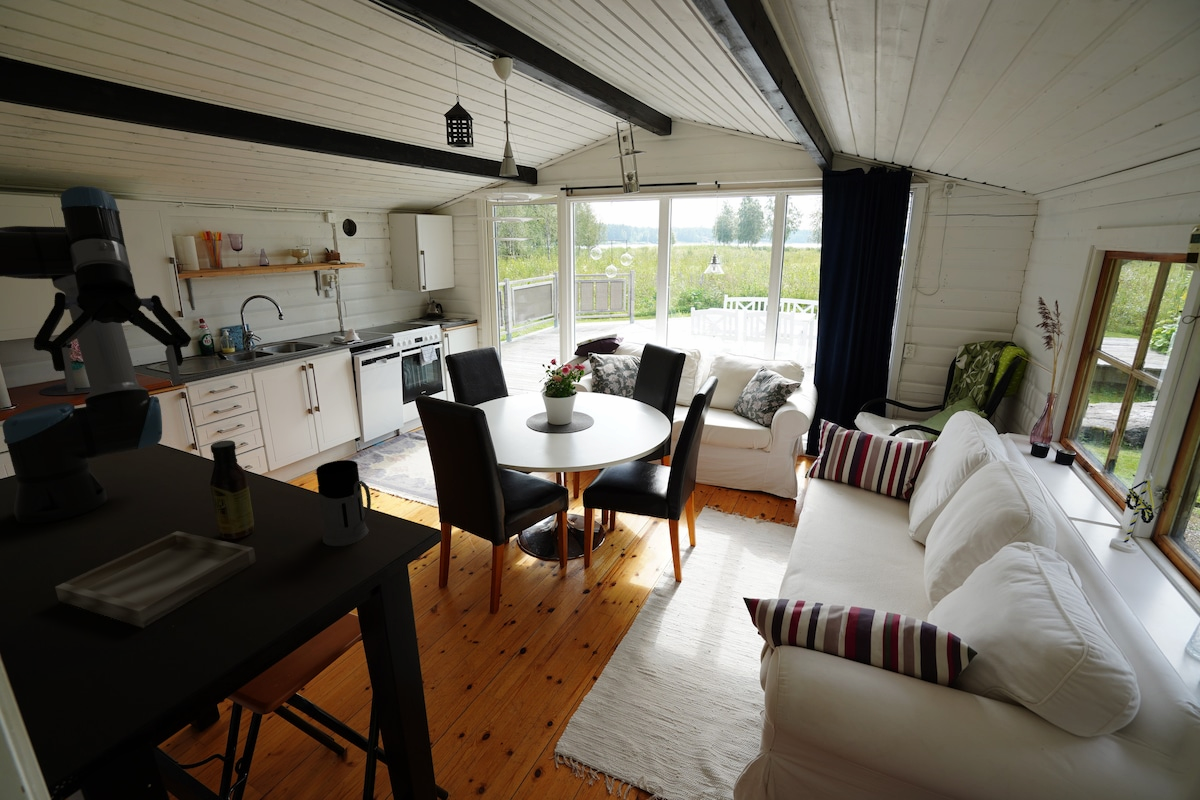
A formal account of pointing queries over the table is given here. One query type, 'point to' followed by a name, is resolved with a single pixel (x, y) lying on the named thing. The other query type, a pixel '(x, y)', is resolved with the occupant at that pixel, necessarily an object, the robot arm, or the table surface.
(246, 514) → the sauce bottle
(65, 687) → the table surface
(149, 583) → the birch tray
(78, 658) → the table surface
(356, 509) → the glass holder
